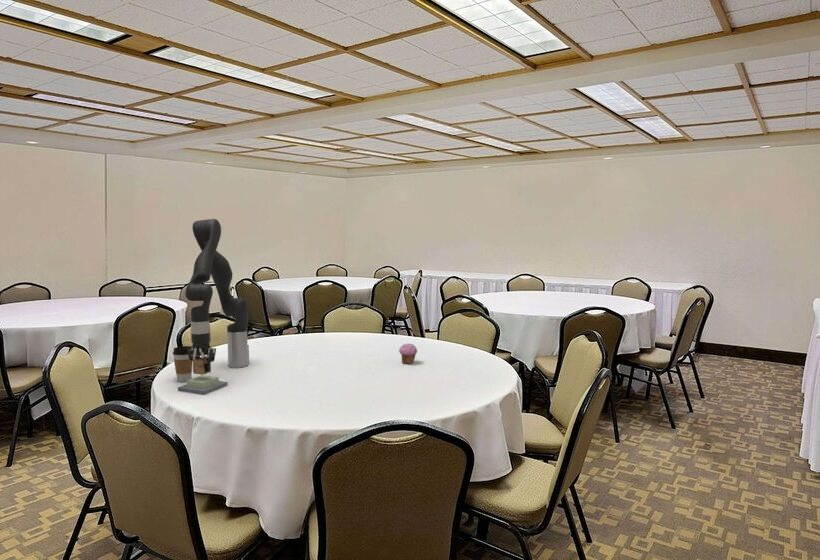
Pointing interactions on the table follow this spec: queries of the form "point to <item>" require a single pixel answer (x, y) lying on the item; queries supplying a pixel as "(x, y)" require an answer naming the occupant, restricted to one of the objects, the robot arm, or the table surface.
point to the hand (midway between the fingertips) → (202, 371)
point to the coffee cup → (182, 364)
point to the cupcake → (408, 353)
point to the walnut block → (199, 366)
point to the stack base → (202, 391)
